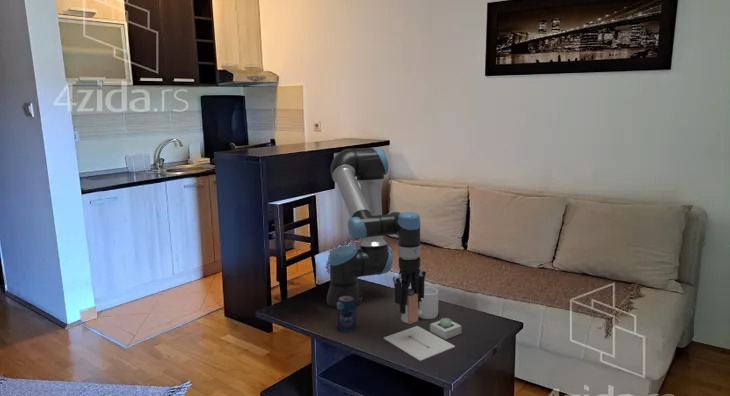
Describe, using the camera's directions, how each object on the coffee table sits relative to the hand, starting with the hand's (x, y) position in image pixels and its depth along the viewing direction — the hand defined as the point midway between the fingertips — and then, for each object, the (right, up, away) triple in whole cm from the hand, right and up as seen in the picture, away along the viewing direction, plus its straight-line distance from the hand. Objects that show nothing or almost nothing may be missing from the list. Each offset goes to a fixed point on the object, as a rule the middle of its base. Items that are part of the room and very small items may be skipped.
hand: (409, 319), depth 180 cm
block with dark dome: (0, 0, 0) cm, 0 cm away
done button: (+14, -4, +4) cm, 15 cm away
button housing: (+14, -6, +5) cm, 16 cm away
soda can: (-23, -6, +10) cm, 26 cm away
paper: (+3, -8, -2) cm, 8 cm away
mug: (+7, -4, +19) cm, 20 cm away
